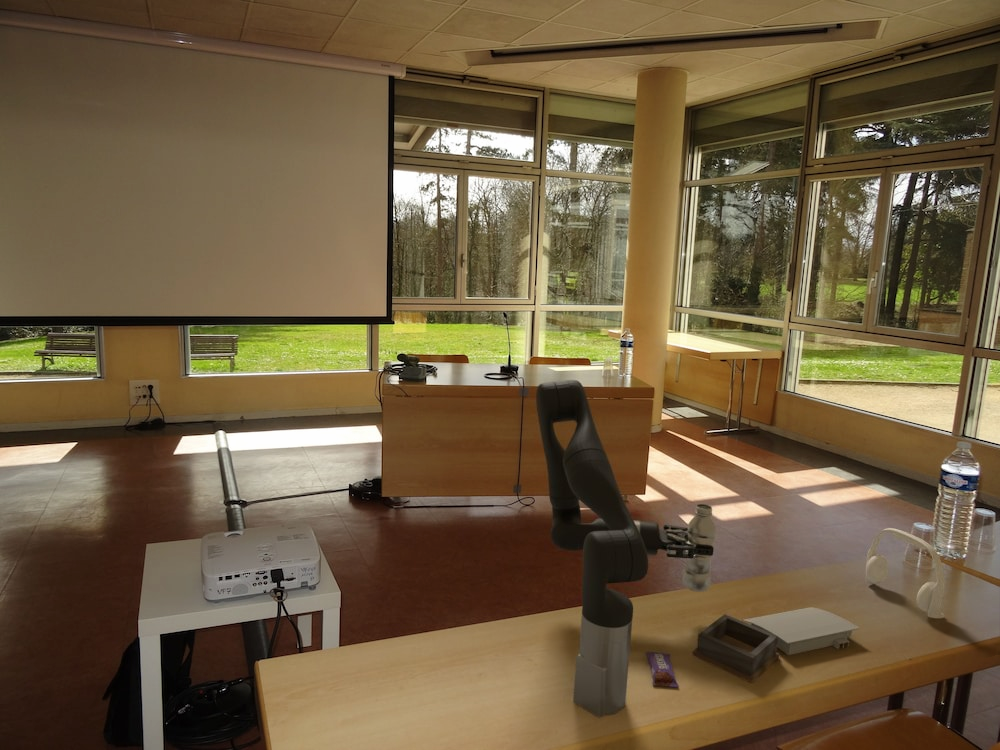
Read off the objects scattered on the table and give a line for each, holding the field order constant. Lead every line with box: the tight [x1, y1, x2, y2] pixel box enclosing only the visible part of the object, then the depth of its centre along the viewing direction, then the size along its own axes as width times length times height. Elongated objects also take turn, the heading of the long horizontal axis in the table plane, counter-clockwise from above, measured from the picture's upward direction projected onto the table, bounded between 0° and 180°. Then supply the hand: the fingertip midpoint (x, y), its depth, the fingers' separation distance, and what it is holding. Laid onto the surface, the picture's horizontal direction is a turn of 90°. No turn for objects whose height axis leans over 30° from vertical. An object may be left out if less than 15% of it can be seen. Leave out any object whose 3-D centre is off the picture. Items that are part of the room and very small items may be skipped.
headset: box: [864, 527, 946, 619], centre depth 174 cm, size 20×7×18 cm, turn 20°
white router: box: [741, 606, 861, 656], centre depth 157 cm, size 15×23×4 cm, turn 111°
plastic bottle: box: [681, 503, 717, 593], centre depth 161 cm, size 6×7×20 cm
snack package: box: [645, 651, 680, 688], centre depth 142 cm, size 12×2×5 cm
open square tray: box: [692, 613, 780, 684], centre depth 147 cm, size 13×13×5 cm
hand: (710, 544), depth 161 cm, fingers closed on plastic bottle, 6 cm apart
